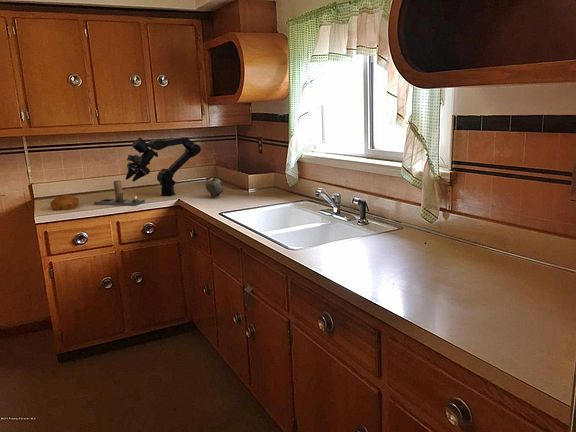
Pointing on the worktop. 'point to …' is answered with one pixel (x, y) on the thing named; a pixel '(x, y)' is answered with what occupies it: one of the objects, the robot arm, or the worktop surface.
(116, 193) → the dowel
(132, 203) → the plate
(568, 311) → the worktop surface
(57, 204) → the bread loaf
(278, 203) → the worktop surface
